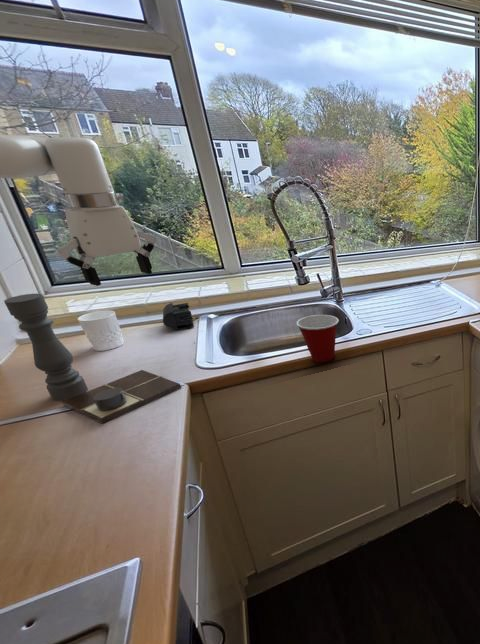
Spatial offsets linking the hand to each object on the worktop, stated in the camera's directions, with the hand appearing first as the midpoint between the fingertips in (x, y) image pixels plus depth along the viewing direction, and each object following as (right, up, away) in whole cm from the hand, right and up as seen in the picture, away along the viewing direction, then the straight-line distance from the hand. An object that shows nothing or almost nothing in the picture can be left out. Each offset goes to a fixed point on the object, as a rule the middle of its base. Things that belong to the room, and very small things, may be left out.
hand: (122, 278), depth 92 cm
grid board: (-5, -28, +6) cm, 29 cm away
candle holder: (-19, -28, +7) cm, 34 cm away
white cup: (-32, -17, +29) cm, 47 cm away
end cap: (-22, -12, +44) cm, 50 cm away
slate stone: (-3, -29, +1) cm, 29 cm away
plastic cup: (+34, -21, +26) cm, 48 cm away
